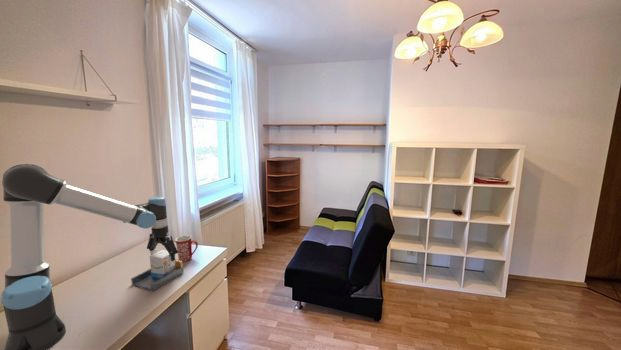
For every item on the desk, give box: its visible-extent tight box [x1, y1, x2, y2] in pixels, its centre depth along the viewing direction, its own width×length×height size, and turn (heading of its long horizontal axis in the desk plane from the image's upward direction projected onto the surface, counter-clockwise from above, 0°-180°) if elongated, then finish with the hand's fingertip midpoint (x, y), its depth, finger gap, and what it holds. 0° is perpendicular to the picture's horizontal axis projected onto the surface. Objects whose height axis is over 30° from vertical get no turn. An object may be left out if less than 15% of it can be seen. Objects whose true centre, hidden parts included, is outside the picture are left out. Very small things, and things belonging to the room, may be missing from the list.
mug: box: [174, 234, 199, 263], centre depth 154 cm, size 13×9×14 cm
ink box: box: [149, 249, 176, 278], centre depth 135 cm, size 9×8×12 cm
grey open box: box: [130, 258, 184, 292], centre depth 133 cm, size 18×15×7 cm
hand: (163, 263), depth 136 cm, fingers open, 13 cm apart
